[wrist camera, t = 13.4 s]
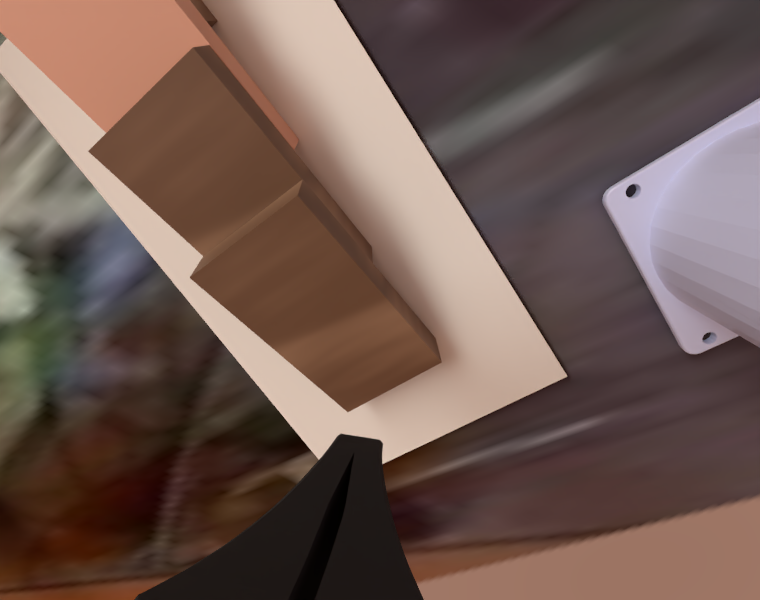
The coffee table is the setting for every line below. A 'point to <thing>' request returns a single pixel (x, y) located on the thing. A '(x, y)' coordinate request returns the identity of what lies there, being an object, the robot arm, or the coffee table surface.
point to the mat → (365, 210)
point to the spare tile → (117, 50)
